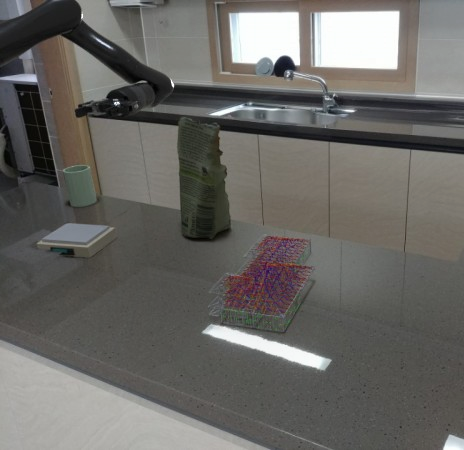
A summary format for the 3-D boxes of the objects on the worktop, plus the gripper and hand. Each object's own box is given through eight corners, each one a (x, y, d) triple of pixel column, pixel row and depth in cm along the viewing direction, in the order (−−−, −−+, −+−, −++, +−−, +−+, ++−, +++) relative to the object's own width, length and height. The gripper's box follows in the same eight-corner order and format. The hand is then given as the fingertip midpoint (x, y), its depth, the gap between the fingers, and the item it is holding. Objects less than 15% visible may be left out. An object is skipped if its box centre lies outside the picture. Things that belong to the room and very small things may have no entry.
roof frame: (261, 244, 110) (259, 220, 108) (332, 251, 106) (332, 226, 104) (191, 324, 84) (187, 295, 82) (282, 338, 79) (280, 308, 77)
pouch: (188, 222, 123) (173, 113, 113) (239, 220, 122) (229, 111, 112) (175, 243, 112) (158, 124, 103) (232, 241, 112) (219, 122, 102)
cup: (66, 210, 133) (57, 172, 129) (81, 201, 139) (73, 164, 135) (88, 211, 132) (79, 173, 128) (102, 202, 137) (94, 165, 133)
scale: (37, 255, 110) (33, 241, 109) (69, 234, 119) (66, 221, 118) (88, 259, 107) (85, 245, 106) (117, 237, 116) (114, 224, 115)
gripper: (101, 87, 145) (63, 98, 131) (148, 86, 142) (114, 98, 128) (106, 114, 148) (70, 128, 134) (152, 114, 145) (120, 129, 131)
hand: (91, 113), depth 131 cm, fingers open, 8 cm apart
